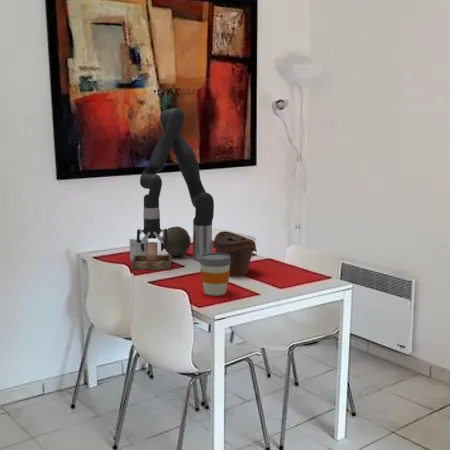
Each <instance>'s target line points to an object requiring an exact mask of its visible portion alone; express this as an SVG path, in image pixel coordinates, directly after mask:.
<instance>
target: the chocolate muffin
mask: <svg viewBox="0 0 450 450" xmlns="http://www.w3.org/2000/svg"><path fill="white" fill-rule="evenodd" d="M213 248H214V249H215V253H224V254H228V255H230V259H231V264H230V268H229V269H230V275H229V277H239V276H240V277H241V276H245V275H247V274H248V273H249V267H250V264H251V259H252V255H253V252H255V253H257V252H258V251H257V245H256V242H255V241H254V239H252V238H248V237H245V236H243V235H240V234H237V233H234V232H231V231H226V230H225V231H220V232H218V233H217V234H216V235H215V237H214V239H213V241H212V249H213Z"/></svg>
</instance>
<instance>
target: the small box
mask: <svg viewBox="0 0 450 450" xmlns="http://www.w3.org/2000/svg"><path fill="white" fill-rule="evenodd" d="M143 238H144V236H140V240H142V239H143ZM147 242H149V238H147V239H146V240H145V241H144V252H143V250H141V243H138V242H137V236H132V237H130V238H129V260H130V261H132V259H133V256H134V255H146V243H147Z"/></svg>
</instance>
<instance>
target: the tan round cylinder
mask: <svg viewBox="0 0 450 450" xmlns="http://www.w3.org/2000/svg"><path fill="white" fill-rule="evenodd" d="M157 255H158V242H157V241H156V242H155V241H148V242H147V243H146V262H158V257H157Z"/></svg>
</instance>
